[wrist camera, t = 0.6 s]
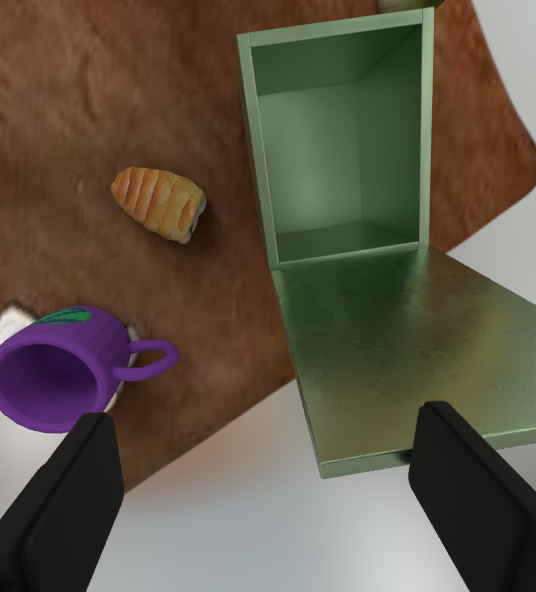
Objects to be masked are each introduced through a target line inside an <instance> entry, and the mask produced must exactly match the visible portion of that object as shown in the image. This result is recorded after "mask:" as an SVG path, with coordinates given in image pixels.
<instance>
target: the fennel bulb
mask: <svg viewBox="0 0 536 592" xmlns="http://www.w3.org/2000/svg"><path fill="white" fill-rule="evenodd" d="M444 1H445V0H378V14H386V13H393V12H400V11H407V10H414V9H423V8H429V7H434V11H435V10H436V9H437V8H438V7H439V6H440V5H441V3H443V2H444Z"/></svg>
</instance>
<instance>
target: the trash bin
mask: <svg viewBox="0 0 536 592" xmlns="http://www.w3.org/2000/svg"><path fill="white" fill-rule="evenodd" d="M433 39H434V7H429V8H423V9H414V10H407V11H400V12H393V13H386V14H378V15H371V16H364V17H357V18H350V19H342V20H335V21H328V22H321V23H314V24H306V25H299V26H292V27H285V28H278V29H270V30H263V31H256V32H250V33H243V34H237V35H236V41H237V64H238V87H239V97H240V104H241V111H242V118H243V124H244V131H245V138H246V145H247V151H248V158H249V165H250V172H251V178H252V185H253V192H254V199H255V205H256V212H257V219H258V226H259V232H260V239H261V244H262V248H263V251H264V254H265V258H266V261H267V264H268V267H269V271H270V274H271V271H277V270H284V269H290V268H297V267H303V266H309V265H316V264H322V263H329V262H335V261H342V260H348V259H354V258H361V257H367V256H374V255H380V254H387V253H393V252H400V251H406V250H412V249H419V248H425V247H429V208H430V166H431V124H432V81H433Z"/></svg>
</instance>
